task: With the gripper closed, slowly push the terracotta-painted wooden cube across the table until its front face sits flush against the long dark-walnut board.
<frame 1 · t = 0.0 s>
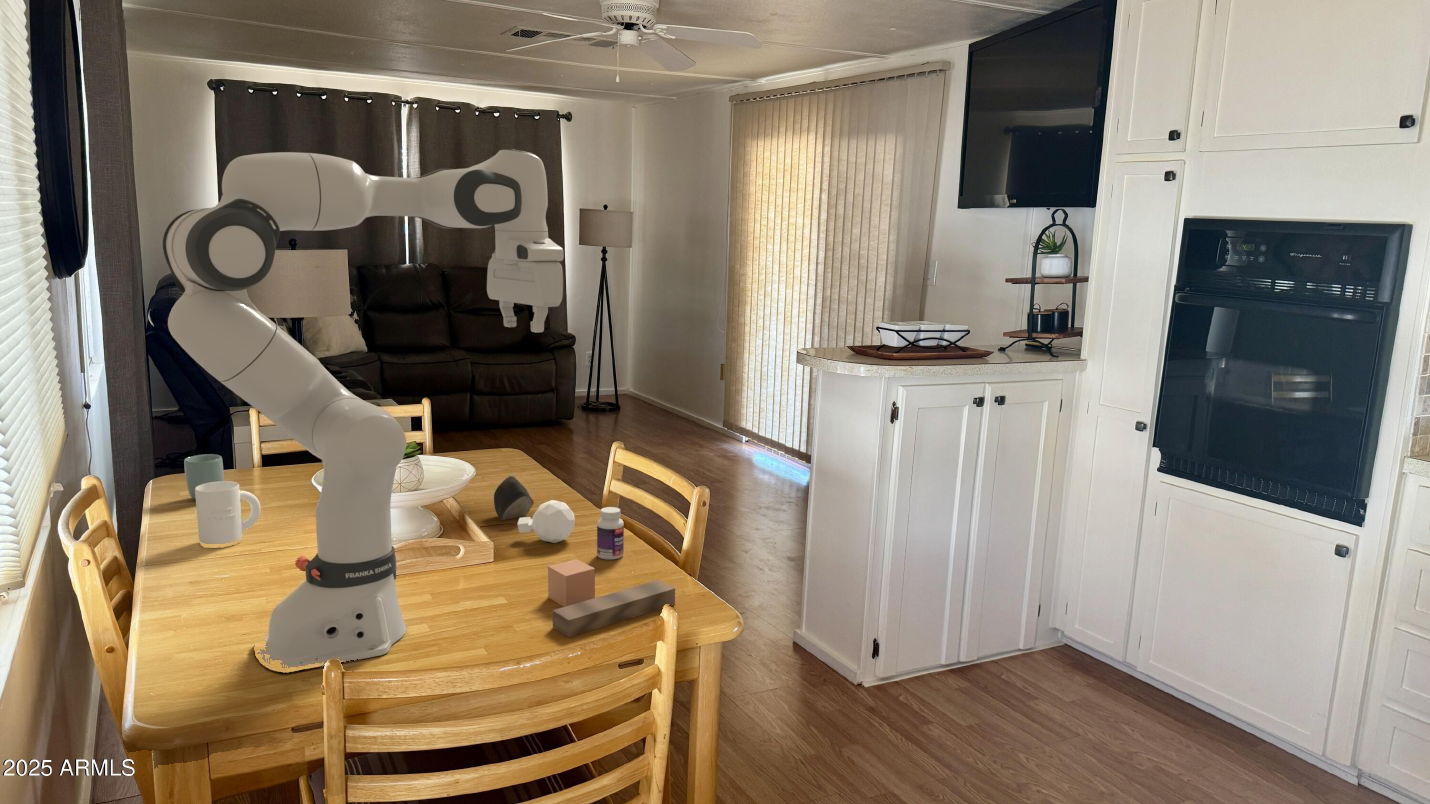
hand: (523, 329, 162), 48 cm above the table, fingers open, 8 cm apart
stone: (514, 518, 213), on the table
pill bottle: (610, 556, 190), on the table
perfume bottle: (548, 540, 198), on the table
block: (571, 598, 168), on the table
cup: (206, 499, 222), on the table
mug: (232, 541, 194), on the table
board: (615, 615, 161), on the table
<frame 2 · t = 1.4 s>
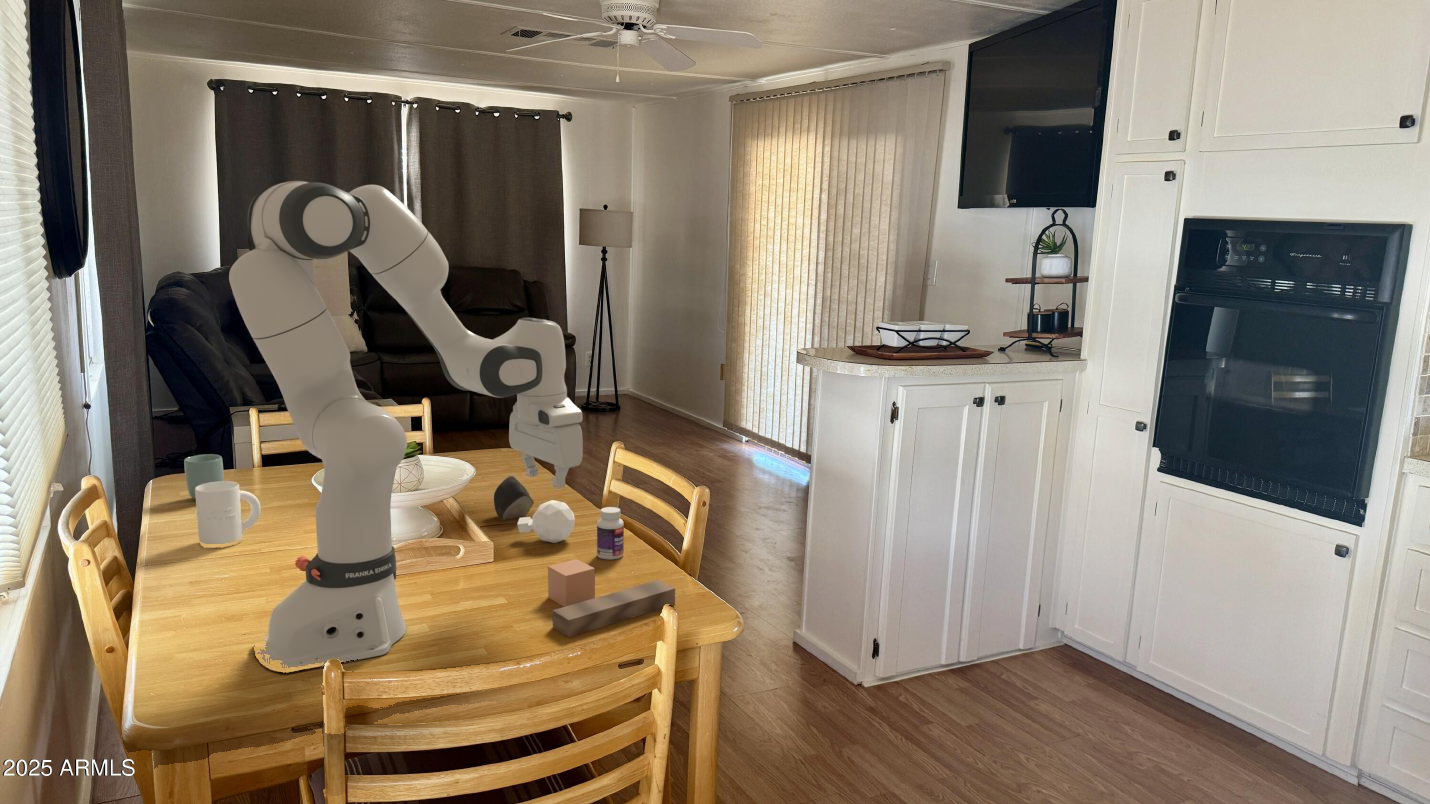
hand: (545, 481, 171), 20 cm above the table, fingers open, 8 cm apart
nothing on the table moved.
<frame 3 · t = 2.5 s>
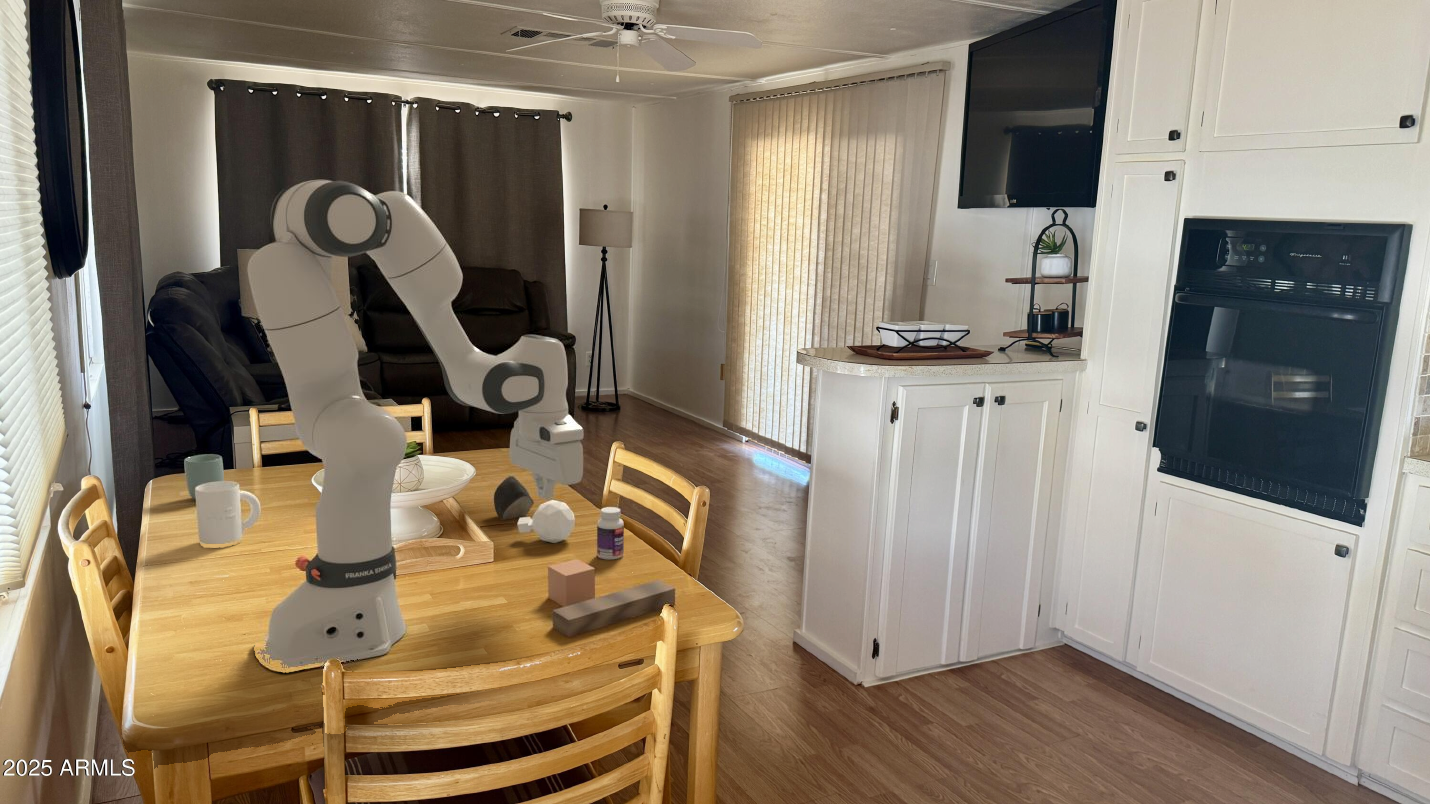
hand: (545, 497, 171), 17 cm above the table, fingers closed
nothing on the table moved.
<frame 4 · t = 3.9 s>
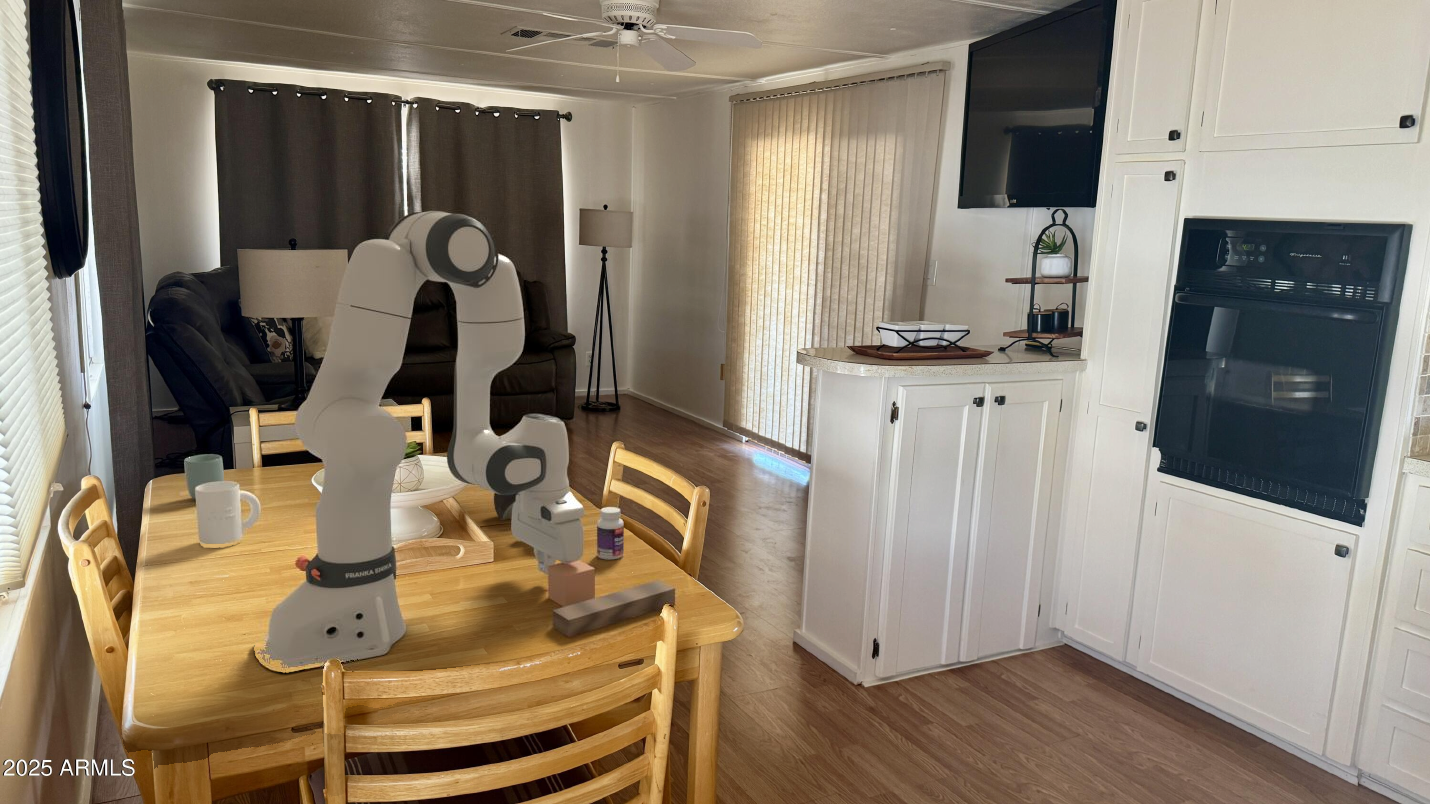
hand: (546, 571, 174), 2 cm above the table, fingers closed
nothing on the table moved.
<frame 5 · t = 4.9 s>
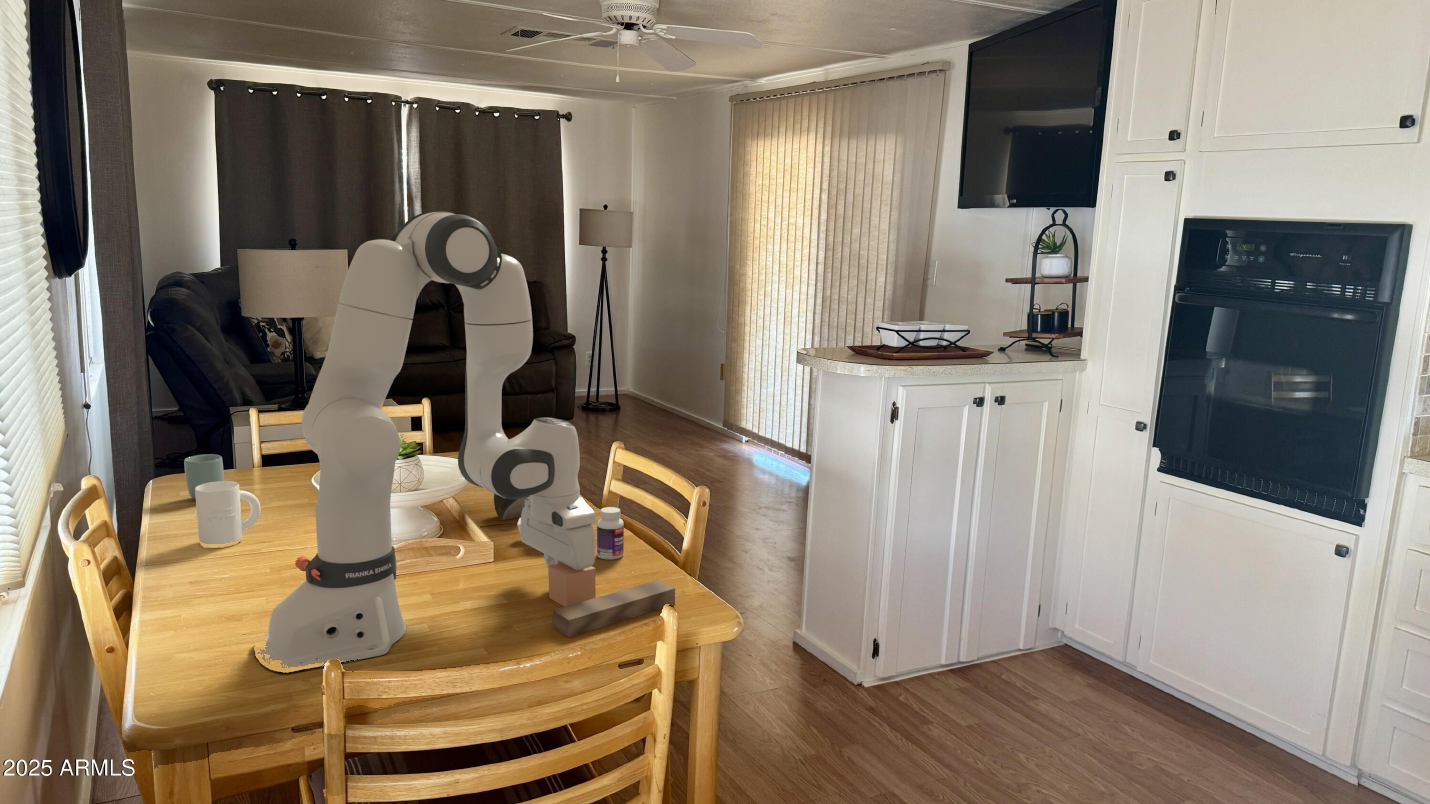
hand: (556, 578, 171), 2 cm above the table, fingers closed
block: (572, 598, 167), on the table, touching gripper
everything else where it was.
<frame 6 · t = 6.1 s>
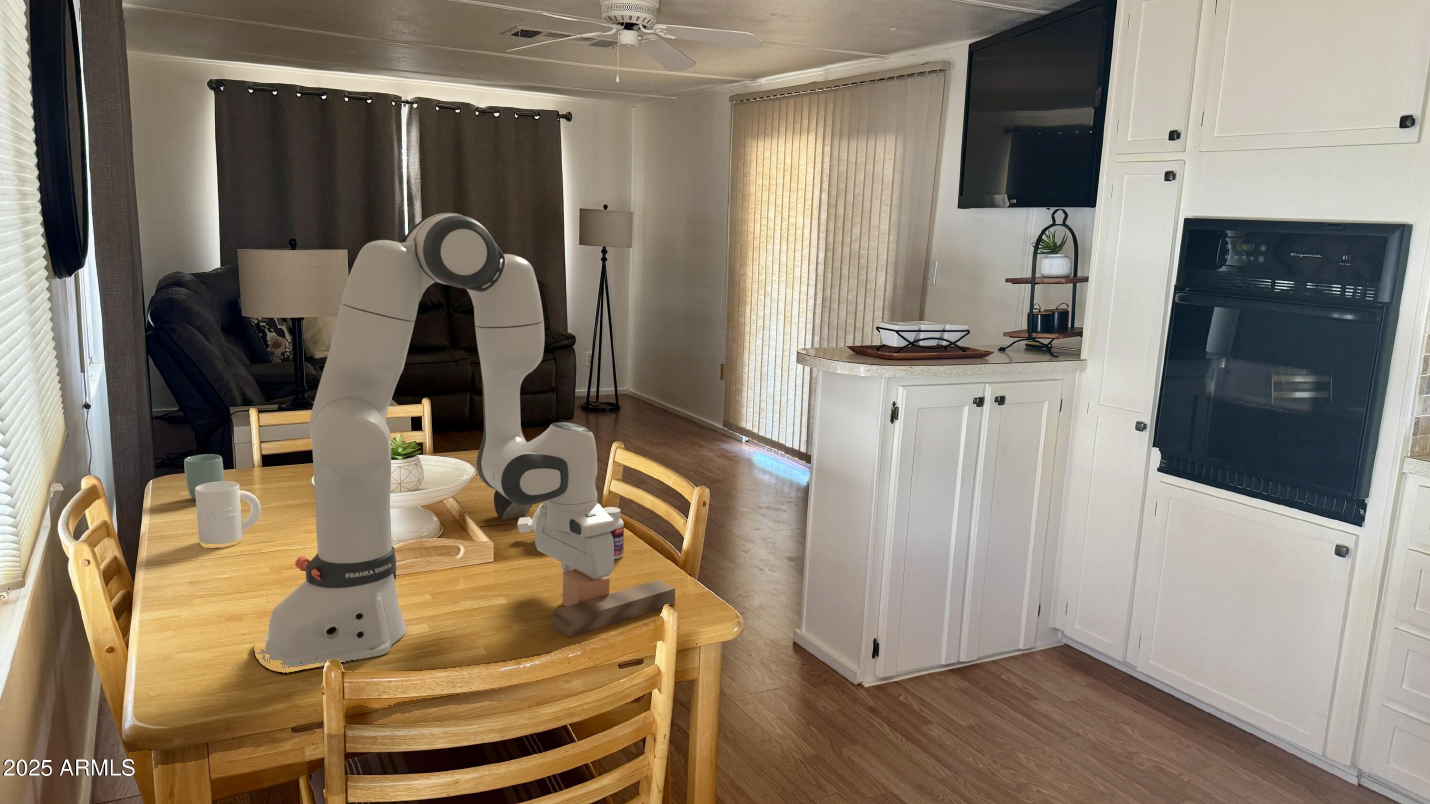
hand: (572, 587, 167), 2 cm above the table, fingers closed
block: (585, 606, 164), on the table, touching board, gripper
everything else where it was.
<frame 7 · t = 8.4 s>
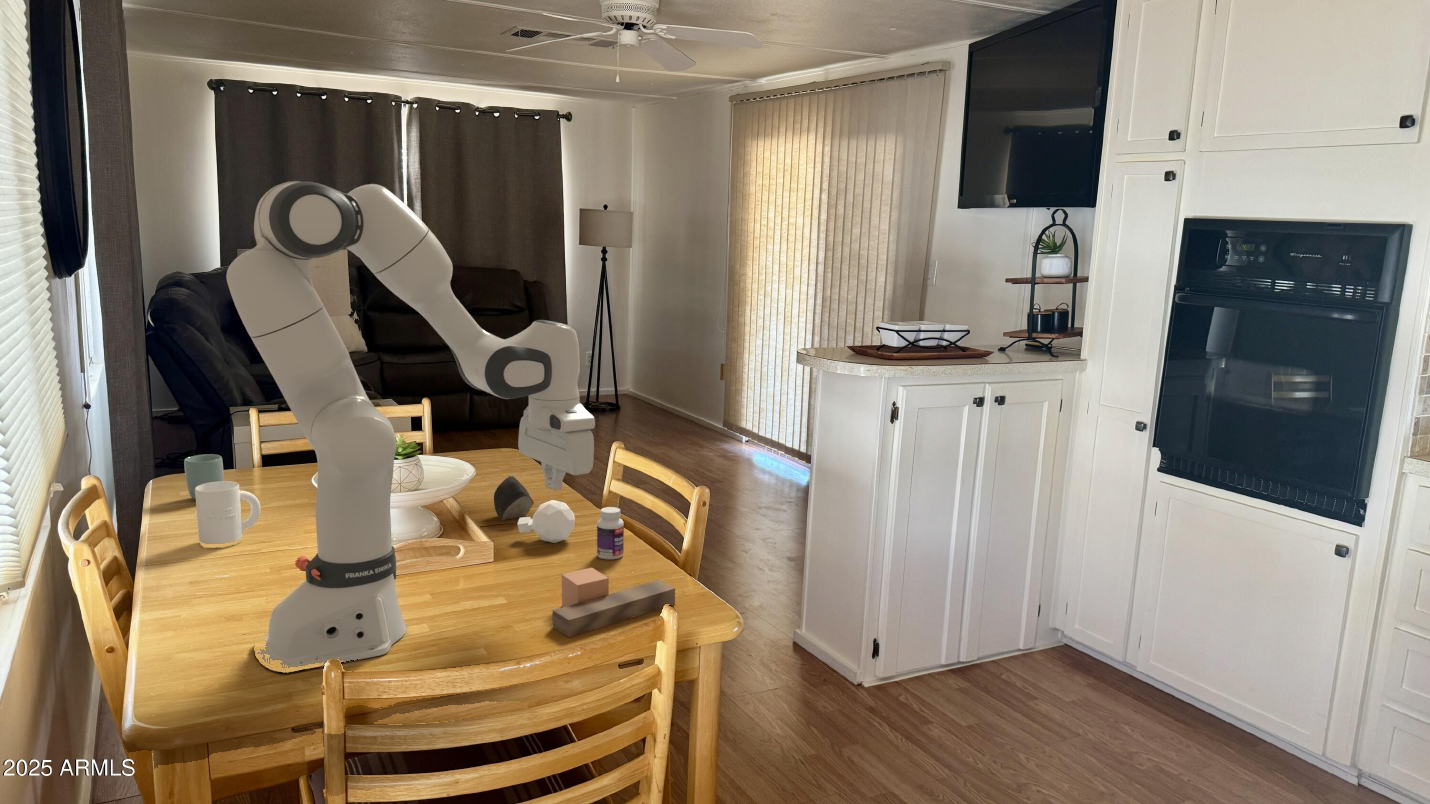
hand: (553, 488, 167), 20 cm above the table, fingers closed
block: (585, 608, 164), on the table
everything else where it was.
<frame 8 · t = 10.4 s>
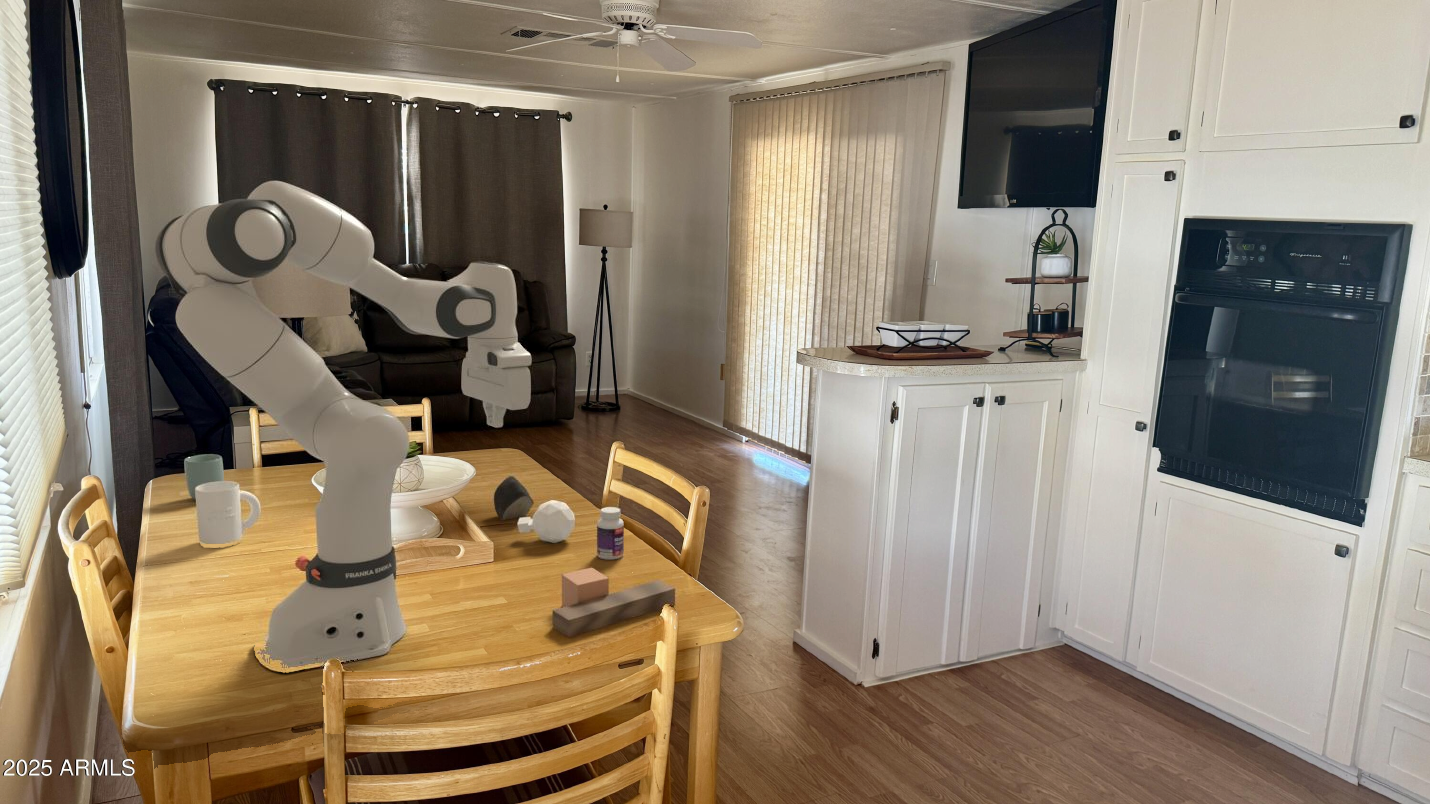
hand: (495, 426, 172), 29 cm above the table, fingers closed
nothing on the table moved.
at the end: block inside the target area on the table beside the board (0.4 cm from its centre), on the table; block tilted 0° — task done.
